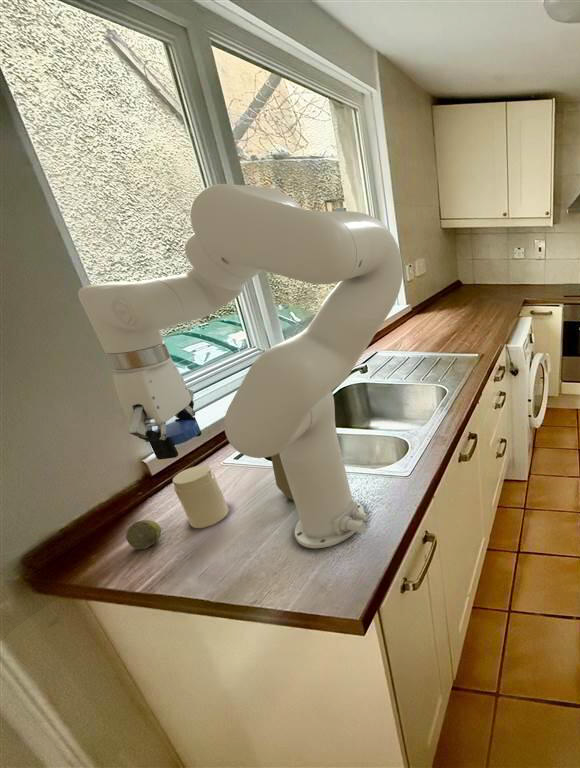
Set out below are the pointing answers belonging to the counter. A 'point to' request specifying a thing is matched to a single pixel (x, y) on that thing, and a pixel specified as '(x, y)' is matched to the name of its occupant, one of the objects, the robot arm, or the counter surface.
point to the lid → (182, 431)
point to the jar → (200, 496)
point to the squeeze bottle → (281, 476)
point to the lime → (143, 534)
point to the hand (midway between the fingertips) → (180, 445)
